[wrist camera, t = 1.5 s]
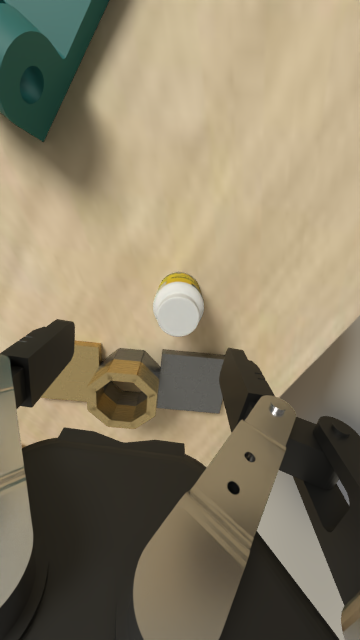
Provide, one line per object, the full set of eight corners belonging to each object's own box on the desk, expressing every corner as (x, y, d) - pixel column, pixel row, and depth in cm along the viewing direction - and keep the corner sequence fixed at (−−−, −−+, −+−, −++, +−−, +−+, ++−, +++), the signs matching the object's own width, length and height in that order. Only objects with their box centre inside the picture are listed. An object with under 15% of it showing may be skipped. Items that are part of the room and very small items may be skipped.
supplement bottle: (207, 285, 30) (219, 310, 21) (185, 317, 31) (186, 353, 22) (172, 262, 29) (168, 278, 20) (151, 297, 30) (138, 326, 21)
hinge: (229, 355, 34) (239, 381, 28) (218, 407, 37) (224, 439, 32) (31, 336, 33) (0, 358, 27) (40, 392, 36) (14, 421, 31)
